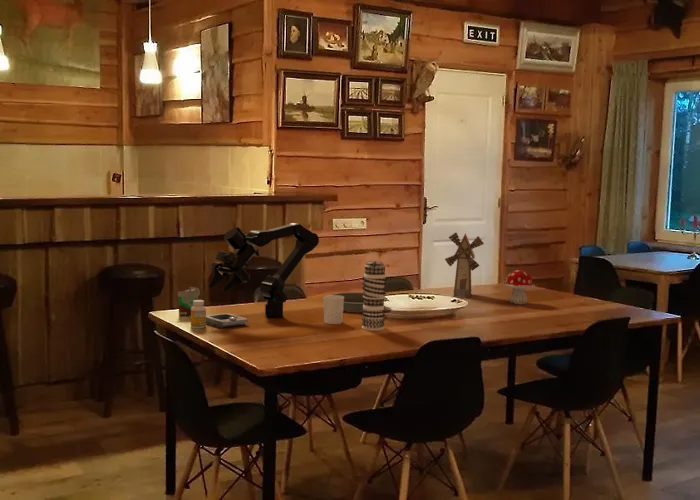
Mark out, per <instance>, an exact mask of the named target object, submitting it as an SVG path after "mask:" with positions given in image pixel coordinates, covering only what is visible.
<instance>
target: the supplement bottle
mask: <svg viewBox="0 0 700 500" xmlns="http://www.w3.org/2000/svg"><path fill="white" fill-rule="evenodd" d="M193 305H194V306H192V307H191V316H190V327H191V328H193V329H204V328H206V325H207V324H206V315H207V309H206V306H204V305H205V300H202V299H198V300H194V301H193Z"/></svg>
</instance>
